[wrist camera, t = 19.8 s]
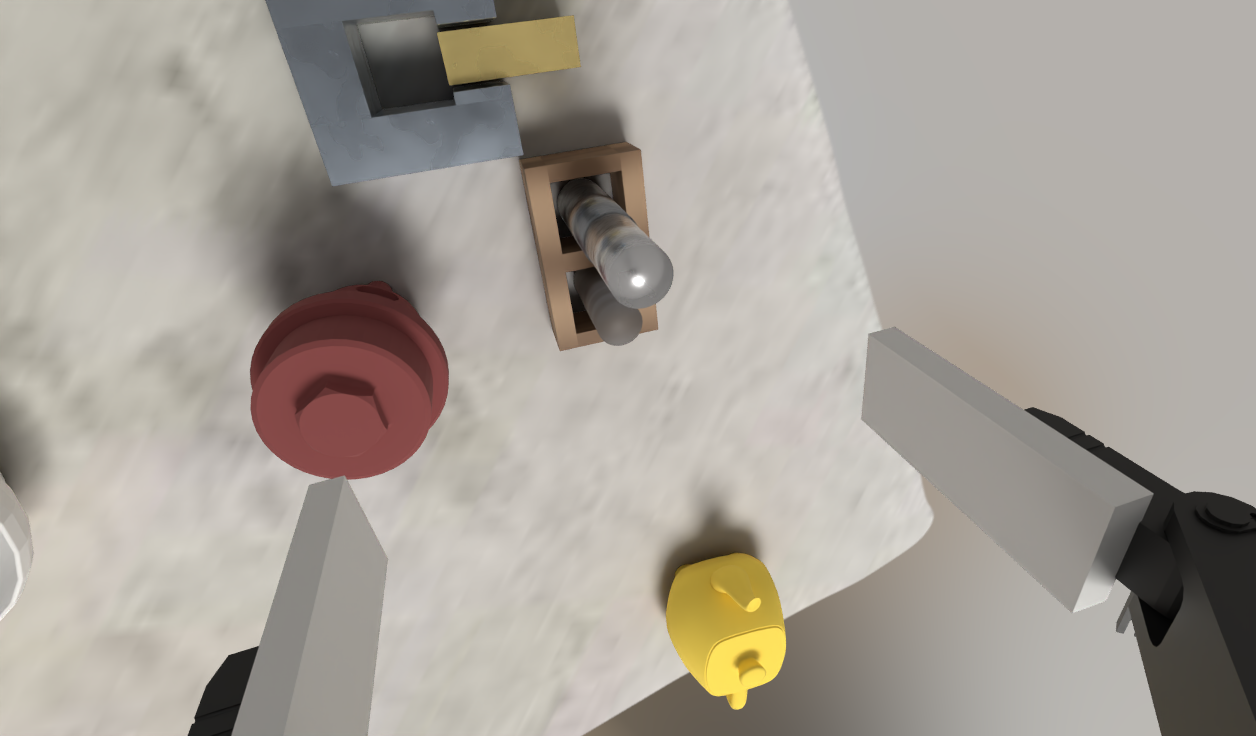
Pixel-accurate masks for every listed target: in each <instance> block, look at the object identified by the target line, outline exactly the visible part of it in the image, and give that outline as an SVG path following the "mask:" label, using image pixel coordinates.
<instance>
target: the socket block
mask: <svg viewBox="0 0 1256 736" xmlns="http://www.w3.org/2000/svg"><path fill="white" fill-rule="evenodd" d="M265 1H266V3H267V6H268V9H269V12H270V15H271V17H272V20H273V23H274V26H275V29H276V31H277V34H278V37H279V40H280V42H281V45H282V48H283V51H284V54H285V56H286V59H287V62H288V65H289V67H290V70H291V73H292V76H293V79H294V81H295V84H296V87H297V90H298V92H299V95H300V98H301V101H302V104H303V106H304V109H305V112H306V115H307V117H308V120H309V123H310V126H311V129H312V131H313V134H314V137H315V140H316V142H317V145H318V148H319V151H320V154H321V156H322V159H323V162H324V165H325V168H326V170H327V173H328V176H329V179H330V181H331V184H332V186H337V185H343V184H349V183H356V182H362V181H368V180H374V179H380V178H386V177H392V176H398V175H404V174H411V173H417V172H423V171H429V170H435V169H441V168H447V167H453V166H459V165H466V164H472V163H478V162H484V161H490V160H496V159H502V158H508V157H514V156H521V155H523V150H522V145H521V140H520V134H519V129H518V124H517V119H516V114H515V109H514V103H513V98H512V93H511V88H510V84H508V83H507V82H505V81H503V80H502V81H495V82H488V83H481V84H474V85H467V86H460V87H453V94H454V99H450V100H443V101H436V102H429V103H422V104H416V105H409V106H402V107H395V108H388V109H382V107H381V104H380V101H379V97H378V94H377V91H376V87H375V84H374V81H373V77H372V74H371V71H370V67H369V64H368V61H367V57H366V54H365V50H364V47H363V44H362V40H361V37H360V34H359V30H358V27H357V25H362V24H370V23H378V22H387V21H395V20H403V19H411V18H420V17H428V16H435V19H436V23H437V26H438V27H439V28H444V27H452V26H460V25H468V24H476V23H484V22H491V21H493V20H494V19H495V18H496V17H497V16H496V11H495V6H494V0H265Z"/></svg>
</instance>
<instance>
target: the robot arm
mask: <svg viewBox="0 0 1256 736" xmlns="http://www.w3.org/2000/svg"><path fill="white" fill-rule="evenodd" d="M861 419H862V420H863V421H864V422H865V423H866V424H867V425H868V426H869V427H870V428H871V429H872V430H874V431H875V432H876V433H877V434H878V435H879V436H880V437H881V438H882V439H883V440H884V441H885V442H887V443H888V444H889V445H890V446H891V447H892V448H893V449H894V450H895V451H896V452H897V453H899V454H900V455H901V456H902V457H903V458H904V459H905V460H906V461H907V462H908V463H909V464H910V465H912V466H913V467H914V468H915V469H916V470H917V471H918V472H919V473H920V474H921V475H922V476H924V477H925V478H926V479H927V480H928V481H929V482H930V483H931V484H932V485H934V487H935V488H937V489H938V490H939V491H940V492H941V493H942V494H943V495H944V496H945V497H946V498H948V500H950V501H951V502H952V503H953V504H954V505H955V506H956V507H957V508H958V509H959V510H961V511H962V512H963V513H964V514H965V515H966V516H967V517H968V518H969V519H970V520H971V521H972V522H973V523H975V524H976V525H977V526H978V527H979V528H980V529H981V530H982V531H983V532H985V534H986V535H988V536H989V537H990V538H991V539H992V540H993V541H994V542H995V543H996V544H997V545H999V546H1000V547H1001V548H1002V549H1003V550H1004V551H1005V552H1006V553H1007V554H1008V555H1009V556H1011V557H1012V558H1013V559H1014V560H1015V561H1016V562H1017V563H1018V564H1019V565H1020V566H1021V567H1022V568H1023V569H1025V570H1026V571H1027V572H1028V573H1029V574H1030V575H1031V576H1032V577H1033V578H1034V579H1036V581H1038V582H1039V583H1040V584H1041V585H1042V586H1043V587H1044V588H1045V589H1046V590H1047V591H1049V592H1050V593H1051V594H1052V595H1053V596H1054V597H1055V598H1056V599H1057V600H1058V601H1059V602H1061V604H1063V605H1064V606H1065V607H1066V608H1067V609H1068V610H1069V611H1070V612H1072V613H1074V612H1077V611H1080V610H1083V609H1085V608H1088V607H1091V606H1093V605H1096V604H1099V603H1101V602H1104V601H1106V600H1107V598H1108V595H1109V593H1110V591H1111V589H1112V587H1113V584H1114V582H1115V580H1116V579H1117V580H1119V581H1120V582H1121V583H1122V584H1124V585H1125V586H1126V587H1127V588H1128V589H1130V590H1131V593H1130V595H1129V597H1128V599H1127V602H1126V604H1125V606H1124V608H1123V610H1122V612H1121V614H1120V616H1119V618H1118V621H1117V626H1116V632H1119V633H1124V631H1125V630H1126V627H1127V626H1128V623H1129V621H1130V620H1132V622H1133V626H1134V630H1135V634H1134V636H1135V637H1136V638H1137V642H1138V646H1139V649H1140V653H1141V657H1142V661H1143V665H1144V669H1145V673H1146V677H1147V681H1148V684H1149V688H1150V692H1151V696H1152V700H1153V704H1154V708H1155V712H1156V715H1157V719H1158V723H1159V727H1160V731H1161V735H1162V736H1256V508H1254V507H1253V506H1251V505H1249V504H1246V503H1244V502H1242V501H1239V500H1237V499H1235V498H1232V497H1229V496H1224V495H1220V494H1216V493H1212V492H1195V491H1194V492H1190V493H1186V494H1185V493H1183V492H1181V491H1179V490H1178V489H1176V488H1174V487H1173V486H1171V485H1170V484H1168V483H1167V482H1165V481H1163V480H1162V479H1160V478H1158V477H1157V476H1155V475H1154V474H1152V473H1150V472H1149V471H1147V470H1145V469H1144V468H1142V467H1141V466H1139V465H1137V464H1136V463H1134V462H1133V461H1131V460H1129V459H1128V458H1126V457H1124V456H1123V455H1121V454H1120V453H1118V452H1116V451H1115V450H1113V449H1111V448H1110V447H1107V448H1106V447H1105V446H1104V444H1103V443H1102V442H1100V441H1099V440H1097V439H1095V438H1094V437H1092V436H1090V435H1085V432H1084V431H1082V430H1081V429H1079V428H1077V427H1076V426H1074V425H1073V424H1071V423H1069V422H1067V421H1066V420H1065V419H1063V418H1061V417H1059V416H1056V415H1053V414H1050V413H1047V412H1045V411H1042V410H1039V409H1036V408H1034V407H1032V408H1028V409H1025V410H1023V409H1022V408H1020V407H1019V406H1017V405H1015V404H1014V403H1012V402H1011V401H1009V400H1008V399H1006V398H1004V397H1003V396H1002V395H1000V394H998V393H997V392H995V391H994V390H992V389H991V388H989V387H988V386H986V385H984V384H983V383H981V382H980V381H978V380H977V379H975V378H974V377H972V376H970V375H969V374H967V373H966V372H964V371H963V370H961V369H960V368H958V367H957V366H955V365H953V364H952V363H950V362H949V361H947V360H946V359H944V358H942V357H941V356H939V355H938V354H936V353H935V352H933V351H932V350H930V349H928V348H927V347H925V346H924V345H922V344H921V343H919V342H918V341H916V340H915V339H913V338H911V337H910V336H908V335H907V334H905V333H904V332H902V331H901V330H899V329H898V328H896V327H892V328H889V329H885V330H881V331H877V332H874V333H870V334H869V335H868V347H867V358H866V370H865V382H864V394H863V405H862V417H861ZM387 562H388V558H387V556H386V554H385V552H384V550H383V548H382V546H381V544H380V542H379V540H378V539H377V537H376V535H375V533H374V531H373V529H372V527H371V525H370V523H369V521H368V519H367V517H366V515H365V513H364V512H363V510H362V508H361V506H360V504H359V502H358V500H357V498H356V496H355V494H354V492H353V490H352V488H351V486H350V485H349V483H348V481H347V479H346V477H345V475H344V476H341V477H337V478H333V479H330V480H326V481H322V482H318V483H315V484H311V485H309V487H308V490H307V494H306V497H305V500H304V503H303V507H302V510H301V513H300V516H299V519H298V523H297V526H296V529H295V532H294V536H293V539H292V542H291V545H290V548H289V552H288V555H287V558H286V561H285V564H284V568H283V571H282V574H281V577H280V581H279V584H278V587H277V590H276V593H275V597H274V600H273V603H272V606H271V610H270V613H269V616H268V619H267V622H266V626H265V629H264V632H263V635H262V638H261V642H260V645H259V646H257V647H254V648H251V649H248V650H244V651H241V652H238V653H234V654H231V655H228V657H227V658H226V660H225V661H224V662H223V664H222V665H221V666H220V668H219V669H218V671H217V672H216V673H215V675H214V676H213V677H212V679H211V680H210V682H209V683H208V684H207V686H206V688H205V691H204V693H203V696H202V699H201V701H200V704H199V707H198V709H197V712H196V715H195V717H194V718H195V723H194V724H192V725H191V728H190V731H189V733H188V736H368V727H369V718H370V710H371V701H372V692H373V684H374V675H375V666H376V658H377V649H378V640H379V632H380V623H381V614H382V606H383V597H384V588H385V580H386V571H387Z"/></svg>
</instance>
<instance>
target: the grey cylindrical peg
mask: <svg viewBox="0 0 1256 736" xmlns="http://www.w3.org/2000/svg"><path fill="white" fill-rule="evenodd" d="M557 206H558V211H559V214H560V215H561V217H562V219H563V220H564V222H565V224H566V225H567V227H568V228H569V230H570V232H571V233H572V235H573V236H574V238H575V239H576V241H577V243H578V244H579V246H580V247H581V249H582V251H583V252H584V254H585V255H586V257H587V258H588V260H589V261H590V262H591V263H592V264H593V265H594V266H595V268H596V269H597V271H598V272H599V274H600V276H601V277H602V279H603V280H604V282H605V283H606V285H607V287H608V288H609V290H610V291H611V293H612V294H613V296H614V297H615V299H616V300H617V301H618V302H620V303H621V304H622V305H624V306H627V307H629V308H635V309H641V308H647V307H650V306H652V305H654V304H656V303H657V302H659V301H660V300H661V299H662V298H663V297H664V296H665V295H666V294H667V292H668V291H669V289H670V287H671V284H672V281H673V266H672V263H671V261H670V259H669V257H668V256H667V254H666V253H665V252H664V251H663V250H662V249H661V248H660V247H659V246H658V245H656V244H655V243H654V242H653V241H652V240H651V239H650V238H649V237H648V236H647V235H646V234H645V233H644V232H643V231H642V230H641V229H640V228H639V227H638V226H637V224H636V222H635V221H634V220H633V219H632V218H631V217H630V216H629V215H628V214H627V213H626V212H625V211H624V210H623V209H622V208H621V207H620V206H619V205H618V204H617V203H616V202H615V201H614V200H613V199H612V198H611V197H610V196H608V195H607V194H606V193H605V192H604V191H603V190H602V189H601V188H600V187H599V186H598V185H597V184H596V183H594V182H593V181H591V180H588V179H582V178H580V179H574V180H572V181H570V182H568V183H567V184H566V185H565V186H564V187H563V188H562V189H561V191H560V193H559V196H558V200H557Z"/></svg>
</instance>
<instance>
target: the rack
mask: <svg viewBox="0 0 1256 736" xmlns="http://www.w3.org/2000/svg"><path fill="white" fill-rule="evenodd" d="M519 163H520V168H521V173H522V178H523V183H524V188H525V194H526V199H527V204H528V209H529V214H530V219H531V224H532V229H533V234H534V239H535V244H536V249H537V254H538V259H539V264H540V269H541V274H542V279H543V284H544V289H545V294H546V299H547V304H548V309H549V314H550V319H551V324H552V329H553V333H554V335H555V338H556V341H557V344H558V347H559V350H560V351H563V350H567V349H572V348H576V347H581V346H585V345H590V344H594V343H599V342H603V341H605V342H606V343H608V344H610V345H616V346H620V345H625V344H627V343H629V342H631V341H633V340H634V339H635V338H636V337H637V336H638V334H640V333H644V332H649V331H653V330H658V321H657V311H656V304H654V305H652V306H650V307H647V308H641V309H635V308H629V307H627V306H624V305H622V304H621V303H620V302H618V301H617V300H616V299H615V297H614V296H613V294H612V293H611V291H610V290H609V288H608V287H607V285H606V283H605V282H604V280H603V279H602V277H601V276H600V274H599V272H598V271H597V269H596V268H595V266H594V265H593V264H592V263H591V262H590V261H589V260H588V258H587V257H586V255H585V254H584V252H583V251H582V249H581V247H580V246H579V244H578V243H577V241H576V239H575V238H574V236H568V237H563V238H559V233H558V227H557V221H556V216H555V210H554V204H553V199H552V193H551V187H550V183H552V182H558V181H564V180H570V179H576V178H581V177H587V176H593V175H599V174H605V173H610V176H611V184H612V192H613V200H614V201H615V202H616V203H617V204H618V205H619V206H620V207H621V208H622V209H623V210H624V211H625V212H626V213H627V214H628V215H629V216H630V217H631V218H632V219H633V220H634V221H635V222H636V224H637V226H638V227H639V228H640V229H641V230H642V231H643V232H644V233H645V234H646V235H647V236H648V237H649V229H648V219H647V209H646V199H645V188H644V178H643V168H642V158H641V150H640V149H639V148H637V147H635V146H633V145H631V144H629V143H627V142H623V143H616V144H610V145H604V146H598V147H592V148H586V149H580V150H574V151H568V152H562V153H556V154H550V155H544V156H538V157H531V158H525V159H519ZM576 270H577V271H576ZM571 271H576V272H575V275H574V286H575V289H576V291H577V293H578V295H579V297H580V299H581V301H582V302H583V304H584V306H585V308H586V310H585V311H580V312H575V313H573V312H572V306H571V301H570V295H569V289H568V284H567V278H566V272H571Z"/></svg>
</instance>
